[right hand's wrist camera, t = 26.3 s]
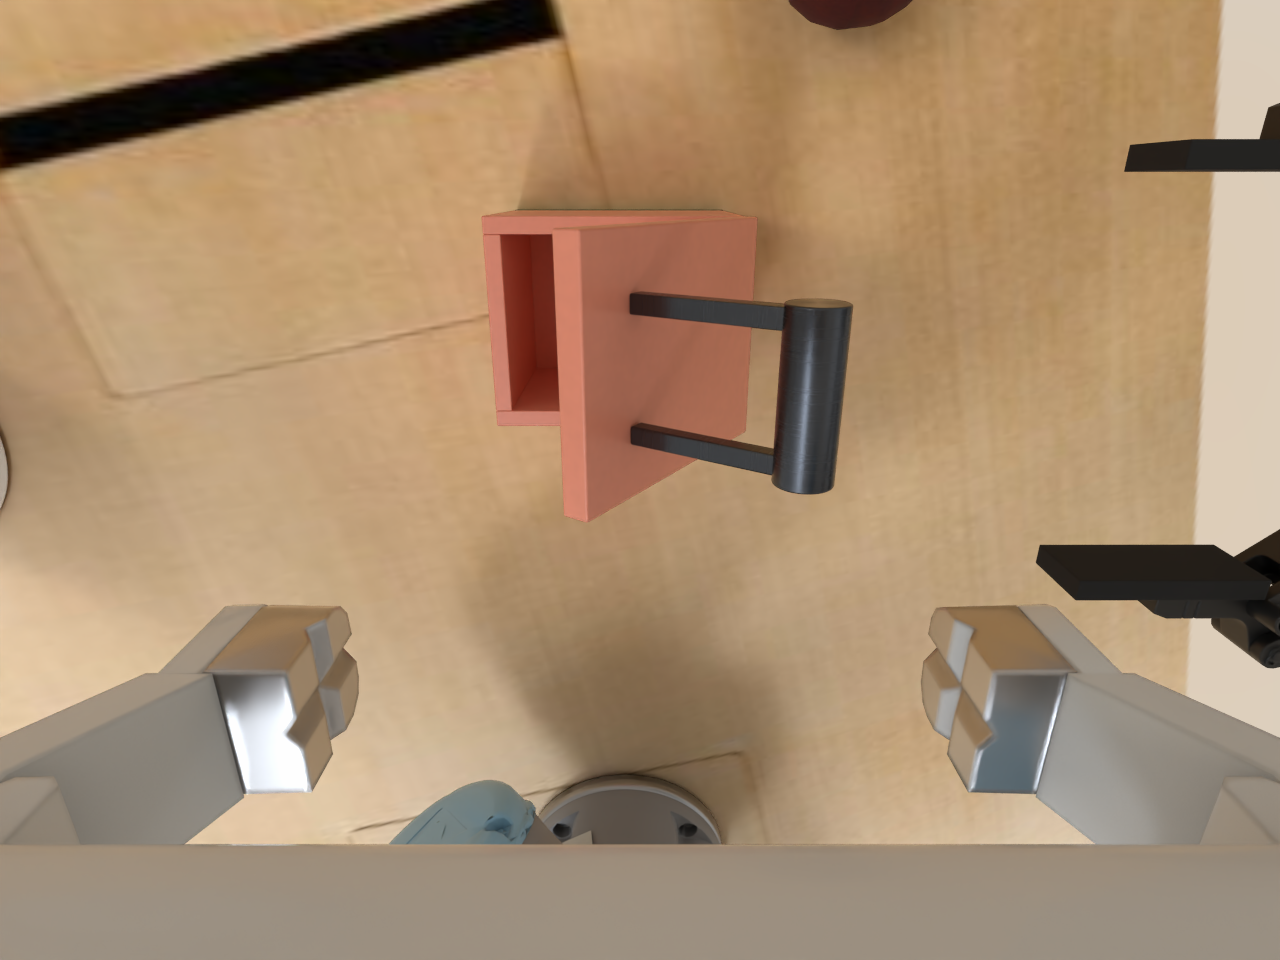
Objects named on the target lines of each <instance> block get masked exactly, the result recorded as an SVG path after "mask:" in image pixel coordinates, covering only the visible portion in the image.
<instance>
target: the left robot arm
mask: <svg viewBox="0 0 1280 960" xmlns="http://www.w3.org/2000/svg"><path fill="white" fill-rule="evenodd" d="M1124 172H1280V103H1279V104H1276V105H1274V106H1271V107H1269V108H1268V111H1267V115H1266V118H1265V121H1264V125H1263V129H1262V132H1261V136H1260V139H1191V140H1180V141H1169V142H1158V143H1146V144H1135V145H1130V148H1129V153H1128V157H1127V161H1126V166H1125V170H1124ZM1036 563H1037V564H1038V565H1039V566H1040V567H1041V568H1042V569H1043V570H1044V571H1045V572H1046V573H1047V574H1048V575H1049V576H1050V577H1052V578H1053V579H1054V580H1055V581H1056V582H1057V583H1058V584H1059V585H1060V586H1061V587H1062V588H1063V589H1064V590H1065V591H1066V592H1067V593H1069V594H1070V595H1071V596H1072V597H1073V598H1074V599H1075V600H1138V601H1139V602H1140V603H1142V604H1143V605H1144V606H1145V607H1147V608H1148V609H1149V610H1150V611H1151V612H1153V613H1154V614H1156V615H1159V616H1162V617H1164V618H1212V619H1211V624H1212V626H1213V627H1214V628H1215V629H1216V630H1217V631H1218V632H1220V633H1221V634H1222V635H1224V636H1225V637H1226V638H1228V639H1229V640H1230V641H1231V642H1233V643H1234V644H1235V645H1237V646H1238V647H1239V648H1241V649H1242V650H1243V651H1245V652H1246V653H1247V654H1249V655H1250V656H1251V657H1252V658H1254V659H1255V660H1256V661H1258V662H1259V663H1260V664H1262V665H1263V666H1265V667H1267V668H1277V667H1280V529H1279V530H1278V531H1276V532H1274V533H1273V534H1271V535H1269V536H1268V537H1266V538H1264V539H1263V540H1261V541H1260V542H1258V543H1256V544H1255V545H1253V546H1251V547H1250V548H1248V549H1246V550H1245V551H1243V552H1241V553H1240V554H1238V555H1236V556H1235V557H1233V556H1231V555H1229V554H1228V553H1226V552H1225V551H1223V550H1221V549H1220V548H1218V547H1217V546H1215V545H1040V547H1039V551H1038V556H1037V560H1036ZM1271 584H1272V586H1270V585H1271ZM535 810H536V808H535V807H534V805H533V803H532V802H530V801H528V800H524V799H523V798H522V797H521V796H520V795H519V794H518V793H517V792H516V791H515V790H514V789H513V788H512V787H510V786H509V785H507V784H505V783H503V782H500V781H495V780H484V781H479V782H475V783H471V784H468V785H466V786H463V787H461V788H459V789H457V790H455V791H454V792H452V793H451V794H449V795H447V796H445V797H443V798H442V799H440V800H438V801H437V802H435V803H434V804H433V805H431V806H430V807H429V808H427V809H426V810H425V811H424V812H422V813H421V814H420V815H419V816H417V817H416V818H415V819H414V820H413V821H412V822H411V823H409V824H408V825H407V826H406V827H405V828H404V829H403V830H402V831H401V832H400V833H399V834H398V835H397V836H396V837H395V838H394V839H393V840H392V841H391V842H390V843H389V844H722V843H721V836H720V832H719V828H718V826H717V823H716V821H715V819H714V818H713V816H712V814H711V813H710V812H709V810H708V809H707V808H706V807H705V806H704V805H703V803H702V802H700V801H699V800H698V799H697V798H696V797H695V796H693V795H692V794H690V793H689V792H687V791H686V790H684V789H682V788H680V787H678V786H676V785H674V784H672V783H669V782H666V781H664V780H660V779H656V778H652V777H647V776H640V775H611V776H604V777H599V778H594V779H591V780H587V781H585V782H582V783H579V784H577V785H575V786H573V787H571V788H569V789H567V790H565V791H564V792H562V793H561V794H559V795H558V796H557V797H555V798H554V799H553V800H552V801H551V802H550V803H549V804H548V805H547V806H546V807H545V808H544V809H543V811H542V812H541V814H540V815H539V817H538V816H537V815H536V813H535Z"/></svg>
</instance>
